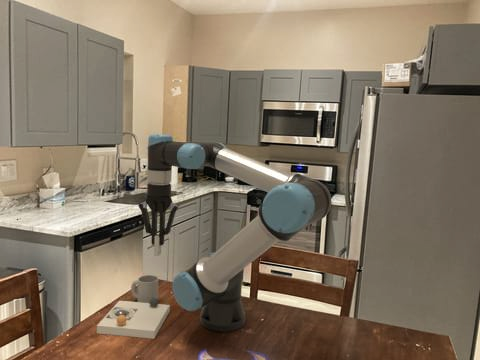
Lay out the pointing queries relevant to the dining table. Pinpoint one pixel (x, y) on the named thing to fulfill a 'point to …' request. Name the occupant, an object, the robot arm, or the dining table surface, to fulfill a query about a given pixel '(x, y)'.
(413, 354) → the dining table surface
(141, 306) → the board
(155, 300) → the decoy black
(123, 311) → the ball
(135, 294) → the cup
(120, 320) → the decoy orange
